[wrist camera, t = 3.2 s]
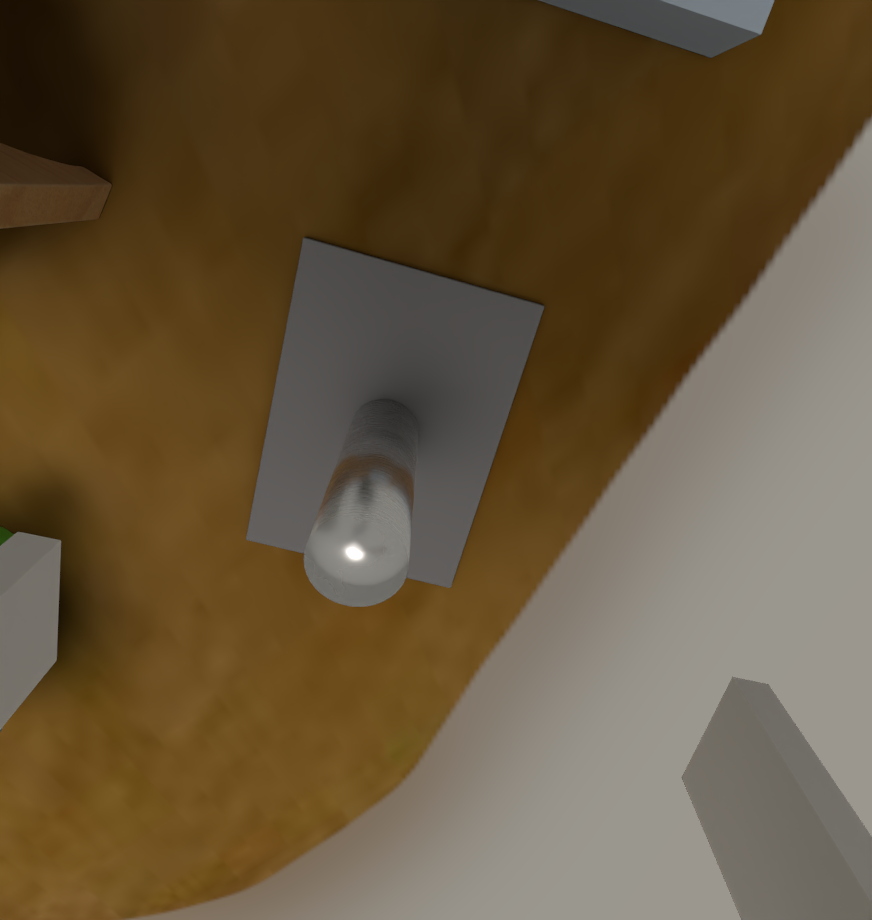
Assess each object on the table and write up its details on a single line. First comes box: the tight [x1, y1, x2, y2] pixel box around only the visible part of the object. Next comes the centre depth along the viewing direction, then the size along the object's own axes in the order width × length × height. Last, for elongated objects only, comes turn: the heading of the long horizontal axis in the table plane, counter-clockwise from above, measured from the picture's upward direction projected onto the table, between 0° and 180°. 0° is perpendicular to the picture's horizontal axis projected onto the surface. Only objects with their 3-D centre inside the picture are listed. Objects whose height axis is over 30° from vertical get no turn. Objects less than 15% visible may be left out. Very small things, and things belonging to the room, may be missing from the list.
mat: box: [246, 237, 545, 588], centre depth 29 cm, size 10×14×1 cm
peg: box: [304, 399, 419, 607], centre depth 24 cm, size 3×3×11 cm
